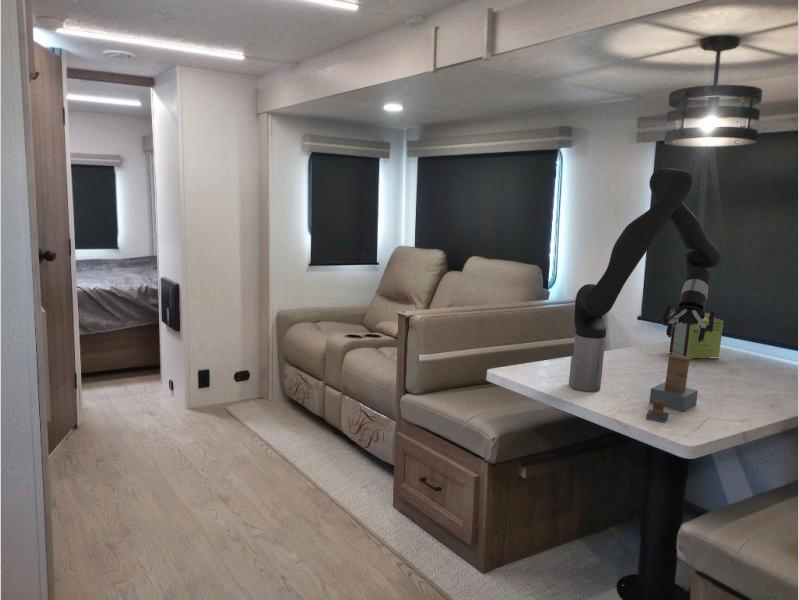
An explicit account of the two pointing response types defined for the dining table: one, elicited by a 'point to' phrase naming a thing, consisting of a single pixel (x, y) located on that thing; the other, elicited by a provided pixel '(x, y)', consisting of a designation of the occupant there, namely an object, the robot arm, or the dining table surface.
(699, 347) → the protein box
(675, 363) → the walnut block
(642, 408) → the dining table surface
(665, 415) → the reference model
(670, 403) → the slate base block
